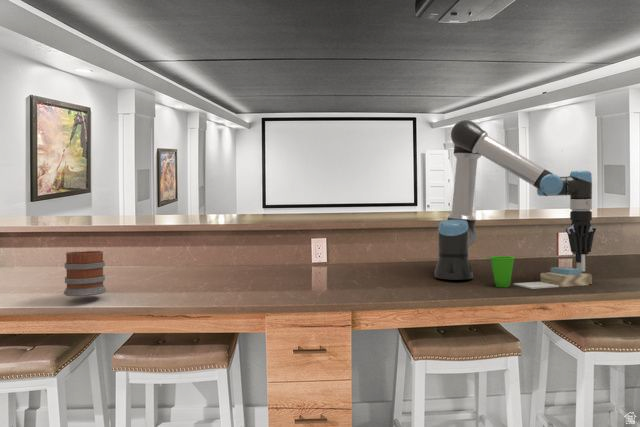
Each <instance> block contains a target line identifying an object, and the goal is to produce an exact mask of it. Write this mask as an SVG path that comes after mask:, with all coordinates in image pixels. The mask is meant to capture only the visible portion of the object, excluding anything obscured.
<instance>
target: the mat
mask: <svg viewBox="0 0 640 427" xmlns="http://www.w3.org/2000/svg"><path fill="white" fill-rule="evenodd" d="M513 285H514V286H515V287H516V286H518V287H522V288H527V289H531V290H535V289H536V290H537V289H551V288H560V287H559V285H554V284H549V283H543V282H541V281H531V282H530V281H529V282H514V283H513Z"/></svg>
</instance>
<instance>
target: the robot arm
mask: <svg viewBox="0 0 640 427" xmlns="http://www.w3.org/2000/svg"><path fill="white" fill-rule="evenodd" d="M450 139H451V142H452V144H453V145H454V146H453V155H454V157H455V158H456V163H455V174H454V184H453V194H452V207H451V213H450V214H449V215H447V219H445V220H441V221H440V222H439V223H438V228H437V230H438V231H437V232H438V260H437V263H436V266H435V269H434V278H437V279H440V280H441V279H442V280H452V281H453V280H454V281H457V280H459V281H460V280H461V281H462V280H471V279H473V278H474V272H473V269H472V266H471V264H470V260H469V247H471V246H472V245H473V244H474V242H475V241H476V240H475V239H476V236H477V233H476V229H475V227H476V218H475V216H473V210H474V209H473V208H474V202H475V201H474V200H475V199H474V198H475V190H476V189H475V188H476V177H477V167H478V159H479V158H481V157H484V158H485V159H488V161H491V162H492V163H494V164H495V165H497V166H499V167H500V168H502V169H504V170H506V171H507V172H509V173H511V174H513V175H514V176H516V177H518V178H520V179H521V180H523V181H525V182H526V183H528V184H529V185H531V186H532V187H534V188H536V192H537V193H536V194H537V195H538V196H539V197H540V196H541V197H543V196H544V197H549V196H551V197H555V196H557V197H558V196H569V197H570V198H569V200H570V201H569V202H570V204H569V208H570V213H569V219H570V221H571V224H570V227H569V228H565V232H566V234H567V236H568V242H569V249H570V252H571V253H572V254H573V255H574V254H575V263H576V269H581V272H586V263H587V255H589V253H591V251H592V246H593V241H594V236H595V233H596V232H597V228H595V227H592V224H591V221H592V220H593V212H592V211H591V210H592V208H593V205H592V204H593V181H592V180H593V178H592V176H593V174H592V172H591V171H589V170H574V171H571V172H569V173H570V174H569V176H559V175H557V174H554V173H553V172H551V171H549V170H547V169H546V168H544V167H542V166H540V165H538V164H537V163H536V162H534V161H532V160H530V159H528V158H527V157H525V156H523V155H522V154H520V153H518V152H516V151H515V150H513V149H511V148H509V147H508V146H506V145H504V144H503V143H501V142H499V141H498V140H496V139H494V138H492V137H490V136H489V135H488V132H487V131H485V130H484V129H482V128H481V126H479V125H477V123H475V122H474V121H472V120H468V119H467V120H466V119H463V120H461V121H458V122H456V123H455V124H454V125H453V127H452V129H451V131H450Z"/></svg>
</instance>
